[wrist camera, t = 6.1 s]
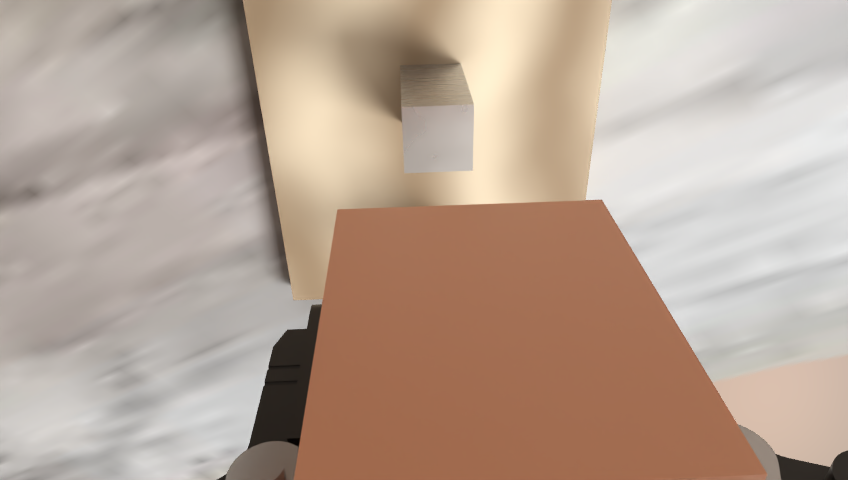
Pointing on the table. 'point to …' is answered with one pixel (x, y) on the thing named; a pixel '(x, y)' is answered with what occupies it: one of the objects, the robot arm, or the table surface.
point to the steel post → (436, 118)
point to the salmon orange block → (505, 355)
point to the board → (382, 115)
